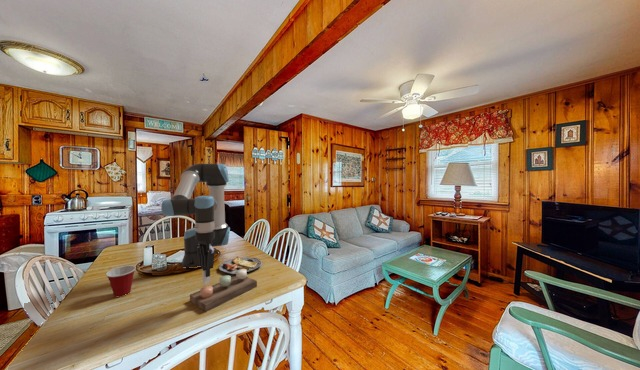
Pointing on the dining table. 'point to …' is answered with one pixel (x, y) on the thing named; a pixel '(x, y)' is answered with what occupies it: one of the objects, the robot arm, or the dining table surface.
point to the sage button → (225, 280)
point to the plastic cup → (121, 279)
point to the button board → (223, 293)
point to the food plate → (240, 264)
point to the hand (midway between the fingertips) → (206, 282)
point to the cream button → (241, 274)
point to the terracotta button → (206, 291)
